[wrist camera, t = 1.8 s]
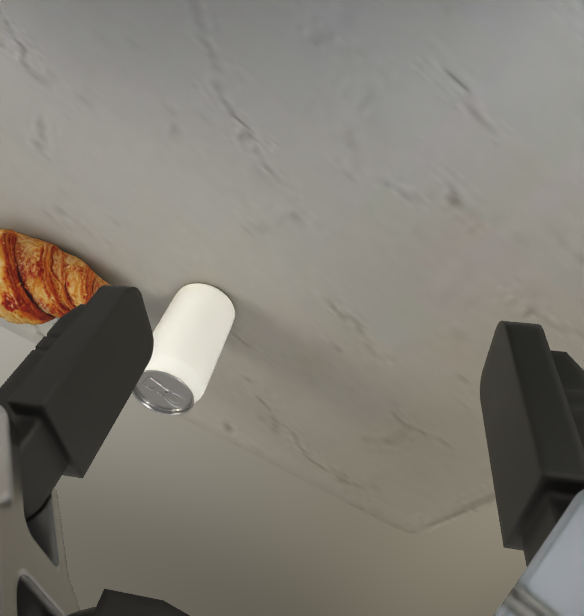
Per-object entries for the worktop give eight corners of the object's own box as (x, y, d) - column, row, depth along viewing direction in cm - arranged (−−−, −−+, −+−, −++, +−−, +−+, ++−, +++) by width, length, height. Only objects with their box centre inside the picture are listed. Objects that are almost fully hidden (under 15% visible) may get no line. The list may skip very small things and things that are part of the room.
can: (214, 338, 52) (175, 428, 43) (165, 304, 50) (112, 390, 41) (248, 307, 49) (213, 398, 39) (196, 269, 47) (146, 355, 38)
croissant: (-34, 247, 55) (-69, 309, 52) (-99, 195, 46) (-147, 268, 43) (141, 287, 53) (115, 354, 50) (111, 242, 44) (77, 321, 41)
